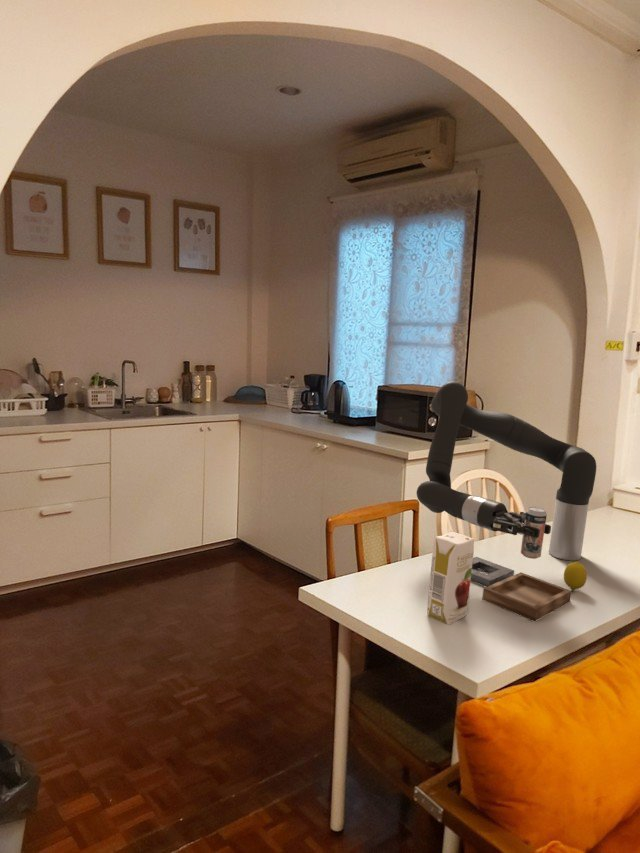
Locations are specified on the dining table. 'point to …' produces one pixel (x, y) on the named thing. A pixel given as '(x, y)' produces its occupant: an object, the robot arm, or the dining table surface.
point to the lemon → (575, 575)
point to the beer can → (530, 544)
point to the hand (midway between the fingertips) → (544, 531)
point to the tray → (527, 596)
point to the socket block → (494, 569)
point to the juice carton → (450, 577)
